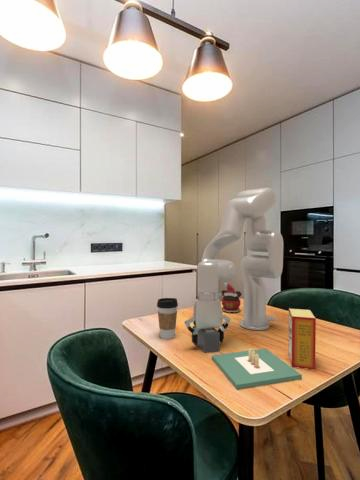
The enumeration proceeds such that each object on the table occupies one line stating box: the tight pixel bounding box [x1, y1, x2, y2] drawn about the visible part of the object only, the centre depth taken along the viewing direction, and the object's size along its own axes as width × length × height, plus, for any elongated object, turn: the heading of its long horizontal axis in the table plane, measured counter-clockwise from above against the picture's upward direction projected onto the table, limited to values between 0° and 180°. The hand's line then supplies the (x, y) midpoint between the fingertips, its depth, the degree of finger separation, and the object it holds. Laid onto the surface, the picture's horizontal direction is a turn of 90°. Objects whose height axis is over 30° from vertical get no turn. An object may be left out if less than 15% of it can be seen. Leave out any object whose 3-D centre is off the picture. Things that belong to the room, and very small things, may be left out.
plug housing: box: [196, 328, 221, 354], centre depth 98 cm, size 6×8×7 cm, turn 15°
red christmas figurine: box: [220, 279, 242, 313], centre depth 143 cm, size 11×9×18 cm
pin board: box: [211, 347, 303, 390], centre depth 82 cm, size 20×18×5 cm
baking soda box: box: [288, 307, 317, 370], centre depth 86 cm, size 10×6×16 cm
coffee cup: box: [156, 297, 179, 340], centre depth 108 cm, size 8×8×15 cm
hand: (207, 342), depth 98 cm, fingers open, 9 cm apart
